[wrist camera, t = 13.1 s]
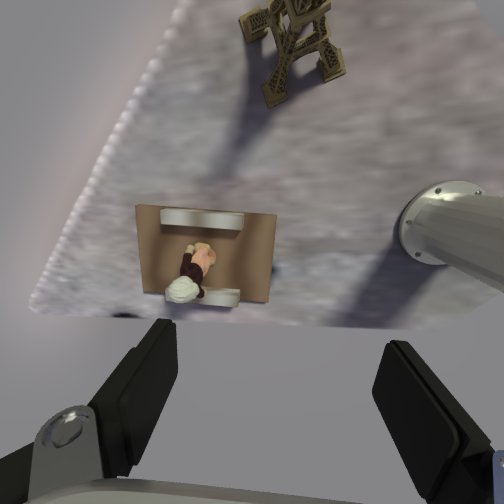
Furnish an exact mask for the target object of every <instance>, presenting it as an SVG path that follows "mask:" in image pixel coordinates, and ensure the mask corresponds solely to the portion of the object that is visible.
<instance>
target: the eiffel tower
mask: <svg viewBox="0 0 504 504" xmlns="http://www.w3.org/2000/svg"><path fill="white" fill-rule="evenodd" d="M267 5H268V8H267V9H261V8H260V6H259V7H257V8H255V9H253V10H252V11H250V12H248V13H246V14H244V15H242V16H241V17H239V19H240V22H241V25H242V28H243V31H244V34H245V37H246V41H247V44H248V43H250V42H252V41H253V40H255V39H257V38H259V37H261V36H263V35H265V34H267V33H268V30H267V27H269V26H270V28H271V31H272V33H273V36H274V39H275V43H276V47H277V51H278V55H279V62H278V64H277V66H276V68H275V69H274V71H273V73H272V75H271V77H270V78H269V80H268V82H267V83H265V85H263V86H262V89H263V93H264V96H265V99H266V102H267V105H268V108H271V107H273V106H275V105H277V104H279V103H281V102H284V101H286V100H288V98H287V93H286V83H287V76H288V69H289V65H290V64H291V63H293V62H294V61H296V60H297V59H299V58H300V57H302V56H304V55H306V54H309V53H312V52H315V51H319V53H320V55H321V57H319V62H320V66H321V70H322V74H323V78H324V82H327V81H329V80H331V79H333V78H336V77H338V76H340V75H342V74H344V73H346V70H345V65H344V61H343V57H342V52H341V48H339V49H338V48H336V47H334V46H333V45H332V44H331V43H330V41H329V39H328V37H329V36H331V33H330V30H329V26H328V22H327V18H326V14H325V13H326V12H327V11H329V10H330V9H331V2H330V0H269V1H267ZM286 14H288V16H289V19H290V24H289V27H288V30H287V33H286V30H285V26H284V22H283V16H285V15H286ZM311 21H312V22H313V27H314V29H313V32H312V33H311V34H309V35H307V36H305V37H303V38H301V39H299V40H297V38H298V36H299V33H300V31H301V28H302V26H304V25H306V24H308V23H310V22H311Z"/></svg>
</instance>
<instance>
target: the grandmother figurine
mask: <svg viewBox="0 0 504 504" xmlns="http://www.w3.org/2000/svg"><path fill="white" fill-rule="evenodd" d="M193 251H194V252H195V254H194V256H193V257H192V255H193ZM210 251H211V248H210V246H209V245H208V244H204V243H196V244H195V245H194V246H193V245H188V246H187V250H186V251H185V253H184V255H183V260H182V264H181V267H180V276H181V277H179V278H177V279H176V280H174V281H173V282H172V284H170V286H169V290H168V292H169V297H170V300H171V301H173V302H175V303H186V302H189V301H191V300H192V299H195V297H197V298H203V297H204V296H206V295H207V290H205V289H202V287H201V286H200V285H201V283H202V281H203V278H204V276H205V275H206V273H207V271H208V269H209V267H210V266H212V265H214V264H215V259H214V258H213V257H212V256H208V253H209V252H210Z"/></svg>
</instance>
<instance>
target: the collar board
mask: <svg viewBox="0 0 504 504" xmlns="http://www.w3.org/2000/svg"><path fill="white" fill-rule="evenodd" d="M135 209H136V220H137V230H138V240H139V251H140V261H141V271H142V282H143V291H145V292H156V293H165V296H166V301H171V300H170V297H169V292H168V290H169V286H170V284H172V282H173V281H174V280H176V279H177V278H179V277H181V276H180V267H181V264H182V260H183V255H184V253H185V251H186V250H187V246H188V245H193V246H194V245H195V244H196V243H204V244H208V245H209V246H210V248H211V251H210V252H209V253H208V256H212V257H213V258H214V259H215V264H214V265H212V266H210V267H209V269H208V271H207V273H206V275H205V276H204V278H203V281H202V283H201V285H200V286H201V287H202V289H205V290H207V295H206V296H204V297H203V298H197V297H195V299H192V300H191V301H189V302H186V303H194V304H205V305H217V306H228V307H238V304H239V300H247V301H258V302H268V300H269V290H270V280H271V270H272V260H273V250H274V240H275V230H276V220H277V215H272V214H259V213H246V212H232V211H219V210H206V209H193V208H179V207H166V206H153V205H140V204H139V205H135ZM194 254H195V252H194V251H193V255H192V257H193V256H194ZM172 302H173V301H172Z"/></svg>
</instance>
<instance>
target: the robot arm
mask: <svg viewBox="0 0 504 504" xmlns="http://www.w3.org/2000/svg"><path fill="white" fill-rule="evenodd" d="M406 221H407V222H406ZM399 239H400V243H401V245H402V247H403V249H404V250H405V251H406V252H407V253H408V254H409V255H410V256H411V257H413V258H414V259H416V260H418V261H420V262H422V263H425V264H430V265H443V264H448V265H450V266H452V267H454V268H456V269H458V270H460V271H462V272H464V273H466V274H468V275H470V276H472V277H474V278H476V279H478V280H480V281H482V282H484V283H486V284H488V285H490V286H492V287H494V288H496V289H498V290H500V291H502V292H504V197H495V196H488V195H487V193H486V192H485V191H484V190H483V189H481V188H480V187H479V186H477V185H475V184H472V183H470V182H464V181H447V182H442V183H438V184H435V185H433V186H431V187H429V188H427V189H425V190H424V191H422V192H421V193H419V194H418V195H417V196H416V197H415V198H414V199H413V200H412V201H411V202H410V203H409V205H408V206H407V207H406V209H405V211H404V213H403V214H402V217H401V220H400V223H399ZM177 359H178V358H177V339H176V324H175V323H172V320H171V319H161V318H158V319H157V320H156V321H155V323H154V324H153V325H152V327H151V328H150V330H149V331H148V332H147V334H146V335H145V336H144V338H143V339H142V340H141V342H140V343H139V344H138V346H137V347H136V348H135V347H134V348H132V349H130V351H129V352H128V353H127V354H126V356H125V357H124V358H123V359H122V361H121V362H120V363H119V365H118V366H117V367H116V369H115V370H114V371H113V372H112V374H111V375H110V376H109V378H108V379H107V380H106V382H105V383H104V384H103V385H102V387H101V388H100V389H99V390H98V392H97V393H96V394H95V396H94V397H93V398H92V400H91V401H90V402H89V403H88V405H87V406H84V405H78V406H73V407H70V408H67V409H65V410H63V411H61V412H59V413H57V414H56V415H54V416H53V417H52V418H50V419H49V420H48V421H47V422H46V423H45V424H44V425H43V426H42V427H41V429H40V430H39V432H38V433H37V435H36V438H35V441H34V442H32V443H30V444H28V445H26V446H24V447H22V448H21V449H19V450H17V451H15V452H13V453H11V454H9V455H7V456H5V457H3V458H1V459H0V504H361V503H353V502H345V501H336V500H328V499H319V498H311V497H302V496H294V495H284V494H277V493H268V492H259V491H250V490H241V489H232V488H223V487H214V486H205V485H196V484H187V483H177V482H165V481H154V480H143V479H120V478H117V476H125V477H128V476H129V473H130V471H131V469H132V467H133V465H138V463H139V461H140V459H141V457H142V455H143V453H144V451H145V448H146V446H147V444H148V441H149V439H150V437H151V434H152V432H153V429H154V428H155V426H156V423H157V421H158V419H159V416H160V414H161V412H162V409H163V407H164V405H165V403H166V400H167V398H168V396H169V394H170V391H171V389H172V387H173V385H174V382H175V380H176V377H177V374H178V360H177ZM372 395H373V398H374V401H375V403H376V405H377V407H378V409H379V411H380V413H381V415H382V418H383V420H384V422H385V424H386V426H387V428H388V430H389V432H390V434H391V436H392V439H393V441H394V443H395V445H396V447H397V449H398V451H399V453H400V456H401V458H402V460H403V462H404V464H405V466H406V468H407V470H408V473H409V475H410V477H411V479H412V481H413V483H414V485H415V487H416V489H417V491H418V493H419V495H420V496H421V497H422V498H423V499H425V500H426V502H427V504H504V450H498V451H496V452H495V451H494V449H493V448H492V447H491V446H490V443H491V441H490V440H489V439H488V437H487V436H486V435H485V434H484V432H483V431H482V430H481V429H480V428H479V426H478V425H477V424H476V423H475V422H474V420H473V419H472V418H471V417H470V416H469V415H468V413H467V412H466V411H465V410H464V408H463V407H462V406H461V405H460V404H459V402H458V401H457V400H456V399H455V398H454V396H453V395H452V394H451V393H450V392H449V391H448V389H447V388H446V387H445V386H444V385H443V383H442V382H441V381H440V380H439V378H438V377H437V376H436V375H435V374H434V373H433V372H432V370H431V369H430V368H429V366H428V365H427V364H426V363H425V362H424V360H423V359H422V358H421V357H420V356H419V354H418V353H417V352H416V351H415V350H414V348H413V347H412V346H411V345H410V344H409V343H408V342H407V341H399V340H391V341H390V343H387V344H386V346H385V349H384V353H383V356H382V359H381V362H380V365H379V369H378V372H377V375H376V378H375V382H374V385H373V388H372Z"/></svg>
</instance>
